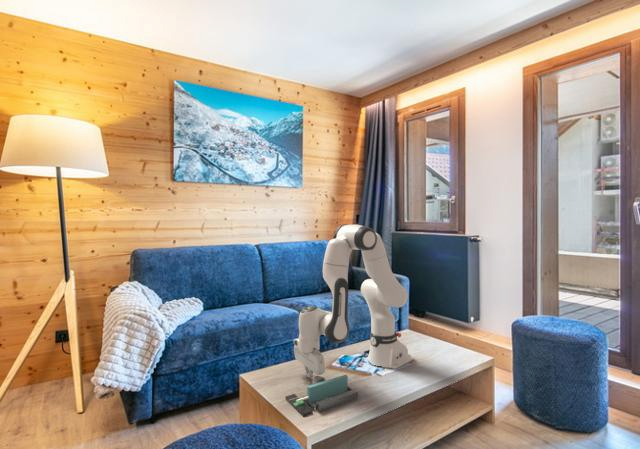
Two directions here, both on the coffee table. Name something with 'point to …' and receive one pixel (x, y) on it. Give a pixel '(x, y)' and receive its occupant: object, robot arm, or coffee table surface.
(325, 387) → the gauge plate
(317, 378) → the mineral specimen
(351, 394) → the gauge frame
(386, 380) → the coffee table surface
